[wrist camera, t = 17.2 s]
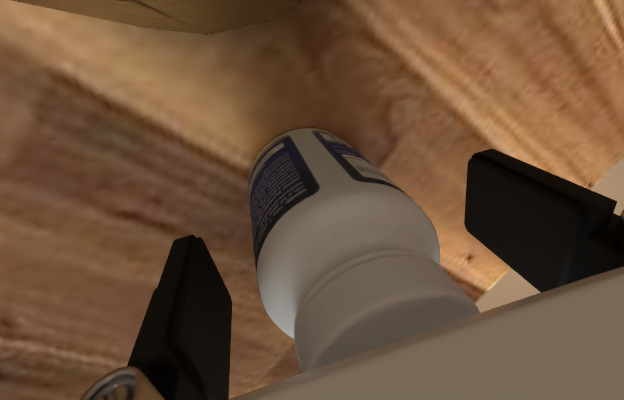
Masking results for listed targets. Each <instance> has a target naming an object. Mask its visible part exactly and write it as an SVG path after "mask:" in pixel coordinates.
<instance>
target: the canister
mask: <svg viewBox="0 0 624 400" xmlns="http://www.w3.org/2000/svg"><path fill="white" fill-rule="evenodd" d="M12 1H17V2H22V3H27V4H32V5H36V6H41V7H46V8H51V9H56V10H61V11H65V12H70V13H75V14H80V15H85V16H89V17H94V18H99V19H104V20H109V21H114V22H118V23H123V24H128V25H133V26H138V27H145V28H154V29H162V30H171V31H179V32H187V33H196V34H204V35H208V34H214V33H219V32H223V31H227V30H232V29H239V28H242V27H246V26H249V25H253V24H257V23H261V22H266V21H269V20H270V19H271V20H272V19H273V18H275V17H276V16H278V15H279V14H281V13H282V12H284V11H285V10H287V9H288V8H290V7H291V6H293V5H294V4H295V3H297V2H298V1H300V0H12Z"/></svg>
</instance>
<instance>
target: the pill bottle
mask: <svg viewBox="0 0 624 400" xmlns="http://www.w3.org/2000/svg"><path fill="white" fill-rule="evenodd" d="M248 191H249V202H250V212H251V222H252V232H253V243H254V254H255V264H256V275H257V282H258V287H259V292H260V297H261V300H262V303H263V306H264V308H265V310H266V312H267V314H268V315H269V317H270V318H271V319H272V321H273V322H274V323H275V324H276V325H277V326H278V327H279V328H280V329H281V330H282V331H283V332H284V333H286V334H287V335H289V336H290V337H292V338H294V339H295V350H296V354H297V358H298V361H299V365H300V370H301V373H304V372H307V371H310V370H313V369H315V368H318V367H321V366H324V365H327V364H330V363H333V362H336V361H339V360H342V359H345V358H348V357H351V356H354V355H357V354H360V353H362V352H365V351H368V350H371V349H374V348H377V347H380V346H383V345H386V344H389V343H392V342H395V341H398V340H401V339H404V338H407V337H410V336H413V335H416V334H419V333H422V332H425V331H428V330H431V329H434V328H437V327H440V326H443V325H445V324H448V323H451V322H454V321H457V320H460V319H463V318H466V317H469V316H472V315H475V314H478V313H480V312H479V310H478V308H477V306H476V305H475V304H474V302H473V301H472V300H471V299H470V298H469V297H468V296H467V295H466V294H465V293H464V291H463V290H462V289H461V288H460V287H459V286H458V285H457V284H456V282H455V281H454V280H453V279H452V278H451V277H450V276H449V275H448V274H447V273H446V272H445V271H444V270H443V269H442V268H441V267H440V266H439V263H440V246H439V241H438V237H437V234H436V230H435V228H434V226H433V224H432V222H431V220H430V219H429V217H428V216H427V214H426V213H425V212H424V211H423V210H422V208H421V207H420V206H419V205H417V204H416V203H415V202H414V200H413V199H412V198H411V197H410V196H408V195H407V194H406V193H405V192H404V191H402V190H401V189H400V188H399V187H398V186H397V185H396V184H394V182H392V181H391V180H390V179H388V178H387V177H386V176H385V175H384V174H383V173H382V172H380V171H379V170H378V169H377V168H376V167H375V166H374V165H372V164H371V163H370V162H369V161H368V160H366V159H365V158H364V157H363V156H362V155H361V154H360V153H358V152H357V151H356V150H355V149H354V148H352V147H351V146H350V145H349V144H348V143H347V142H345V141H344V140H343V139H341V138H340V137H338V136H336V135H335V134H333V133H330V132H328V131H325V130H321V129H315V128H302V129H296V130H292V131H289V132H286V133H284V134H282V135H280V136H278V137H276V138H275V139H273V140H272V141H271V142H270V143H268V144H267V145H266V146H265V147H264V148H263V149H262V150H261V152H260V153H259V154H258V156H257V157H256V159H255V161H254V163H253V165H252V168H251V171H250V176H249V187H248Z"/></svg>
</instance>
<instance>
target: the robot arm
mask: <svg viewBox="0 0 624 400" xmlns="http://www.w3.org/2000/svg"><path fill="white" fill-rule="evenodd" d="M616 203H617V201H615V200H612V199H610V198H608V197H605V196H603V195H601V194H598V193H596V192H593V191H591V190H589V189H586V188H584V187H582V186H579V185H577V184H575V183H572V182H570V181H568V180H565V179H563V178H560V177H558V176H556V175H553V174H551V173H549V172H546V171H544V170H542V169H539V168H537V167H535V166H532V165H530V164H527V163H525V162H523V161H520V160H518V159H516V158H513V157H511V156H509V155H506V154H504V153H501V152H499V151H497V150H494V149H489V150H485V151H482V152H478V153H475V154H474V155H473V156H472V158H471V159H470V160H469V162H468V171H467V187H466V204H465V221H464V223H465V227H466V229H467V231H468V232H469V233H470V234H472V235H473V236H474V237H475V238H476V239H478V240H479V241H480V242H481V243H482V244H484V245H485V246H486V247H487V248H488V249H489V250H491V251H492V252H493V253H494V254H495V255H497V256H498V257H499V258H500V259H501V260H503V261H504V262H505V263H506V264H507V265H509V266H510V267H511V268H512V269H513V270H515V271H516V272H517V273H518V274H519V275H521V276H522V277H523V278H524V279H525V280H527V281H528V282H529V283H531V285H533V286H534V287H535V288H536V289H537V290H539V291H540V292H541V293H539V294H536V295H533V296H530V297H527V298H524V299H521V300H518V301H515V302H512V303H509V304H506V305H502V306H500V307H496V308H494V309H491V310H488V311H484V312H482V313H478V314H475V315H472V316H469V317H466V318H463V319H460V320H457V321H454V322H451V323H448V324H445V325H443V326H440V327H437V328H434V329H431V330H428V331H425V332H422V333H419V334H416V335H413V336H410V337H407V338H404V339H401V340H398V341H395V342H392V343H389V344H386V345H383V346H380V347H377V348H374V349H371V350H368V351H365V352H362V353H360V354H357V355H354V356H351V357H348V358H345V359H342V360H339V361H336V362H333V363H330V364H327V365H324V366H321V367H318V368H315V369H313V370H310V371H307V372H304V373H301V374H298V375H295V376H292V377H289V378H287V379H284V380H281V381H278V382H276V383H273V384H270V385H267V386H264V387H262V388H259V389H256V390H253V391H251V392H248V393H245V394H242V395H239V396H237V397H234V398H231V399H229V400H624V210H623V211H622V213H621V215H620V216H618V215H616V214H614V213H613V212H614V209H615V206H616ZM231 319H232V301H231V297H230V294H229V292H228V290H227V288H226V286H225V284H224V282H223V280H222V278H221V276H220V274H219V272H218V270H217V268H216V266H215V263H214V261H213V259H212V257H211V255H210V253H209V251H208V249H207V247H206V245H205V243H204V241H203V239H202V238H201V237H199V238H196V237H195V236H194V235H190V236H186V237H183V238H179V239H176V240H174V242H173V244H172V247H171V250H170V253H169V256H168V259H167V261H166V264H165V267H164V270H163V273H162V276H161V279H160V282H159V285H158V287H157V288H156V289H155V291H154V292H153V295H152V298H151V300H150V303H149V306H148V309H147V312H146V315H145V317H144V320H143V323H142V326H141V329H140V331H139V334H138V337H137V340H136V343H135V345H134V348H133V351H132V354H131V357H130V359H129V362H128V365H127V366H126V367H122V368H118V369H116V370H114V371H112V372H110V373H108V374H106V375H105V376H103V377H102V378H100V379H99V380H98V381H96V382H95V383H94V384H93V385H92V386H91V387H90V388H89V389H88V390H87V391H86V392H85V394H84V395H83V396H82V397H81V399H80V400H228V396H229V371H230V345H231Z"/></svg>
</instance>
